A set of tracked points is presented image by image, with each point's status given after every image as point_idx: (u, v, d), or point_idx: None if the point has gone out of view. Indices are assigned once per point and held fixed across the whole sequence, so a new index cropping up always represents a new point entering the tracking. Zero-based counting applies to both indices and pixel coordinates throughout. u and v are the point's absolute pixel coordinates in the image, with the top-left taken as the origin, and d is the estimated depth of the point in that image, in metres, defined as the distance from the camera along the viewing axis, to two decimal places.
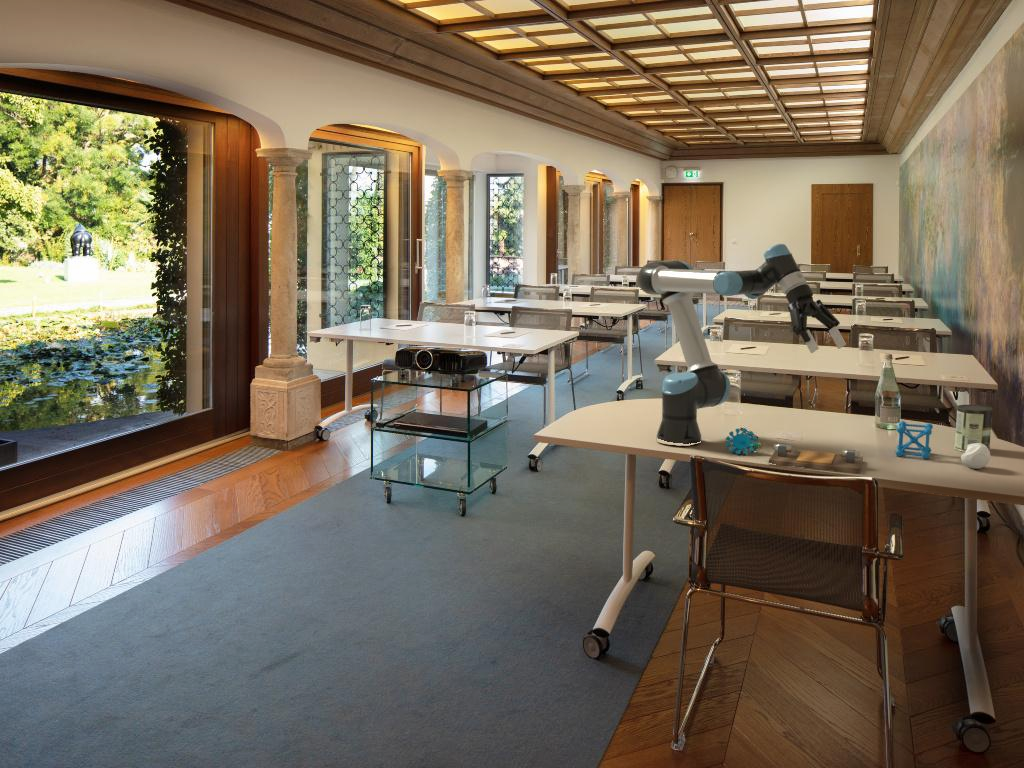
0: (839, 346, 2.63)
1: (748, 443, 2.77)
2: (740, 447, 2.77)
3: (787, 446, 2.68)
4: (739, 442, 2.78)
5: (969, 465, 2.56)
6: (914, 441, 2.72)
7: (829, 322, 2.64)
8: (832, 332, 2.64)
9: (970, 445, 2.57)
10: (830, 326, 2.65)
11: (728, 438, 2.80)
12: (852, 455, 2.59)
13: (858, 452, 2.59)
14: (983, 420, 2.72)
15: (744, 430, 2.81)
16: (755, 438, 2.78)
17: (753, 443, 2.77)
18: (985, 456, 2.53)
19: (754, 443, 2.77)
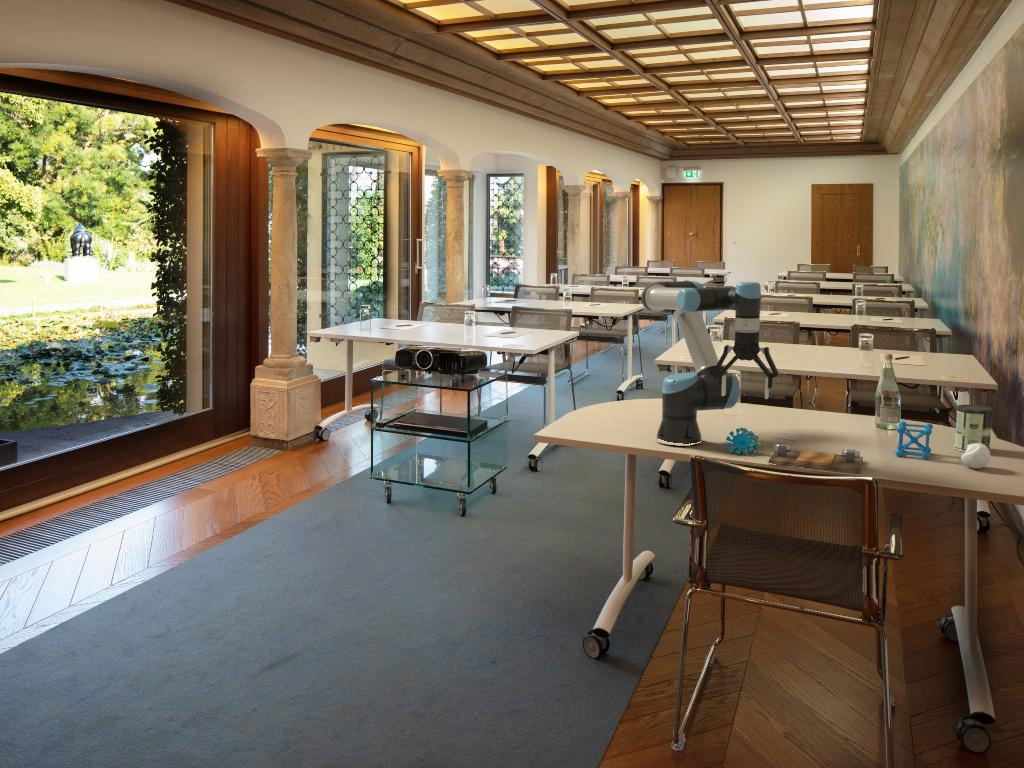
0: None
1: (748, 443, 2.77)
2: (740, 447, 2.77)
3: (787, 446, 2.68)
4: (739, 442, 2.78)
5: (969, 465, 2.56)
6: (914, 441, 2.72)
7: None
8: None
9: (970, 445, 2.57)
10: None
11: (728, 438, 2.80)
12: (852, 455, 2.59)
13: (858, 452, 2.59)
14: (983, 420, 2.72)
15: (744, 430, 2.81)
16: (755, 438, 2.78)
17: (753, 443, 2.77)
18: (985, 456, 2.53)
19: (754, 443, 2.77)
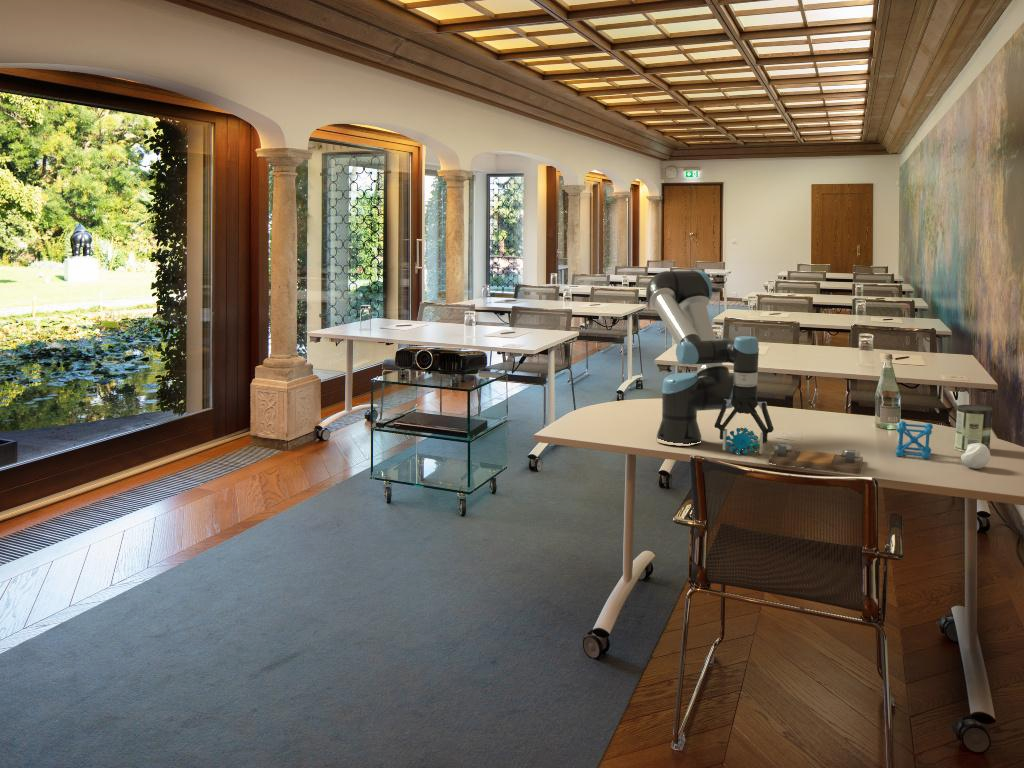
0: None
1: (748, 443, 2.78)
2: (740, 446, 2.78)
3: (787, 446, 2.68)
4: (739, 441, 2.79)
5: (969, 465, 2.56)
6: (914, 441, 2.72)
7: None
8: None
9: (970, 445, 2.57)
10: None
11: (728, 437, 2.81)
12: (852, 455, 2.59)
13: (858, 452, 2.59)
14: (983, 420, 2.72)
15: (745, 430, 2.81)
16: (755, 438, 2.78)
17: (753, 443, 2.77)
18: (985, 456, 2.53)
19: (754, 443, 2.77)
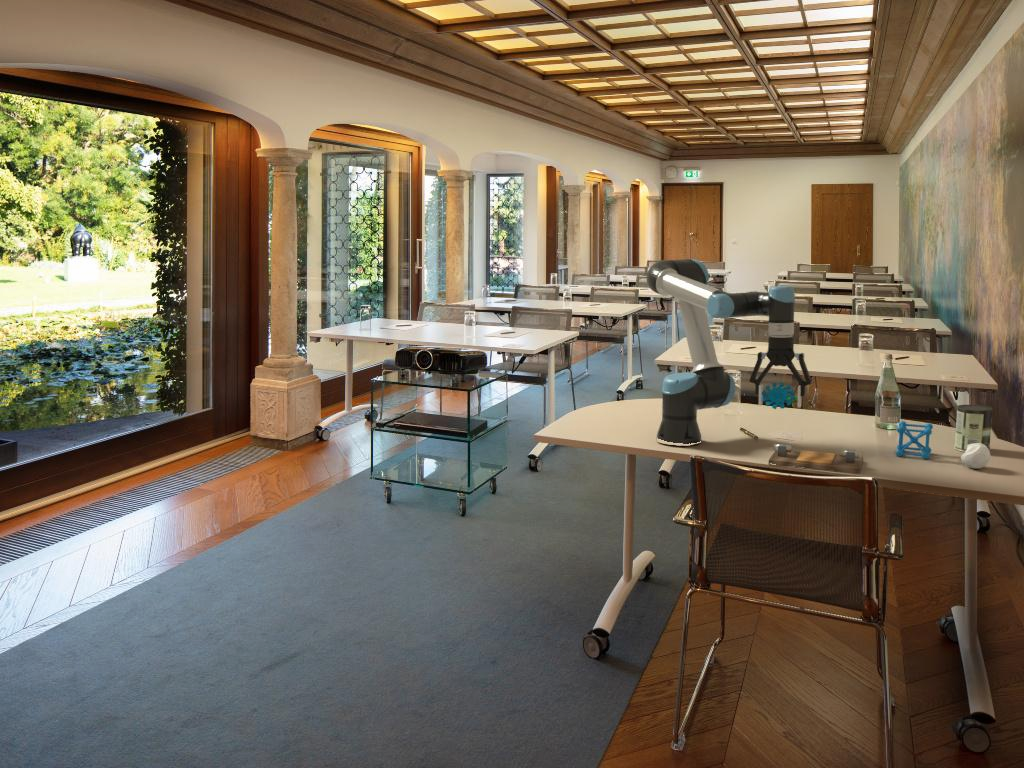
0: None
1: (785, 396, 2.68)
2: (777, 401, 2.68)
3: (787, 446, 2.68)
4: (776, 396, 2.69)
5: (969, 465, 2.56)
6: (914, 441, 2.72)
7: None
8: None
9: (970, 445, 2.57)
10: None
11: (764, 392, 2.71)
12: (852, 455, 2.59)
13: (858, 452, 2.59)
14: (983, 420, 2.72)
15: (781, 384, 2.71)
16: (792, 391, 2.68)
17: (790, 396, 2.67)
18: (985, 456, 2.53)
19: (791, 396, 2.67)
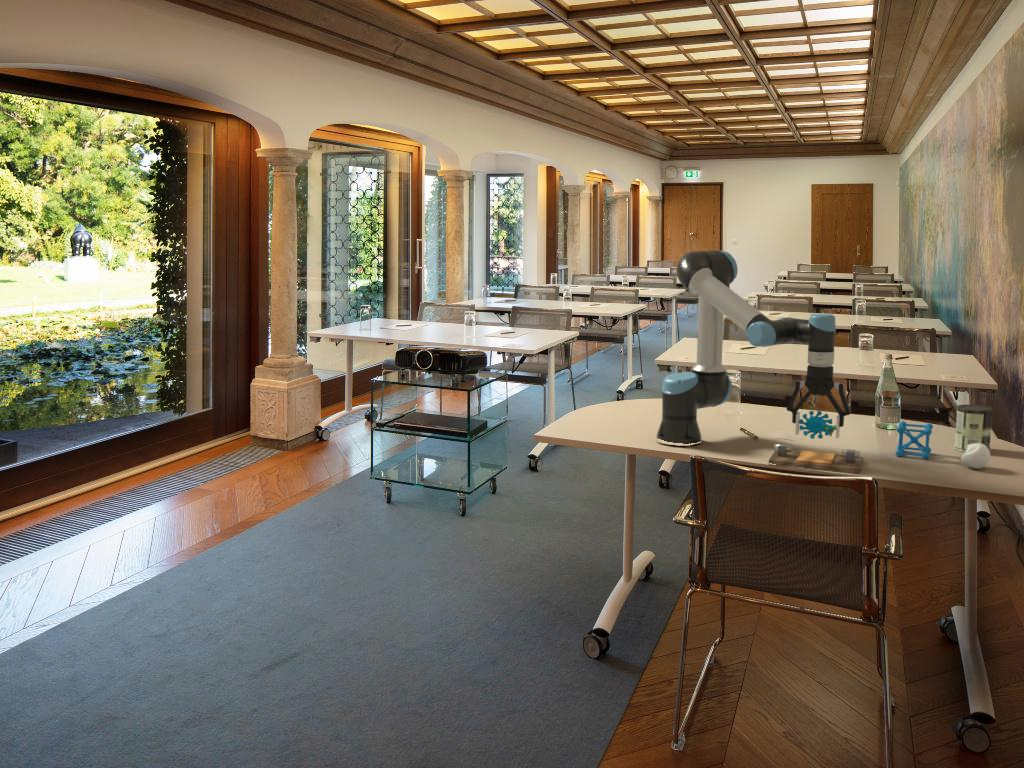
0: None
1: (823, 426, 2.63)
2: (814, 430, 2.63)
3: (787, 446, 2.68)
4: (813, 425, 2.64)
5: (969, 465, 2.56)
6: (914, 441, 2.72)
7: (836, 409, 2.60)
8: None
9: (970, 445, 2.57)
10: None
11: (801, 421, 2.66)
12: (852, 455, 2.59)
13: (858, 452, 2.59)
14: (983, 420, 2.72)
15: (818, 413, 2.66)
16: (830, 421, 2.63)
17: (828, 426, 2.62)
18: (985, 456, 2.53)
19: (829, 426, 2.62)
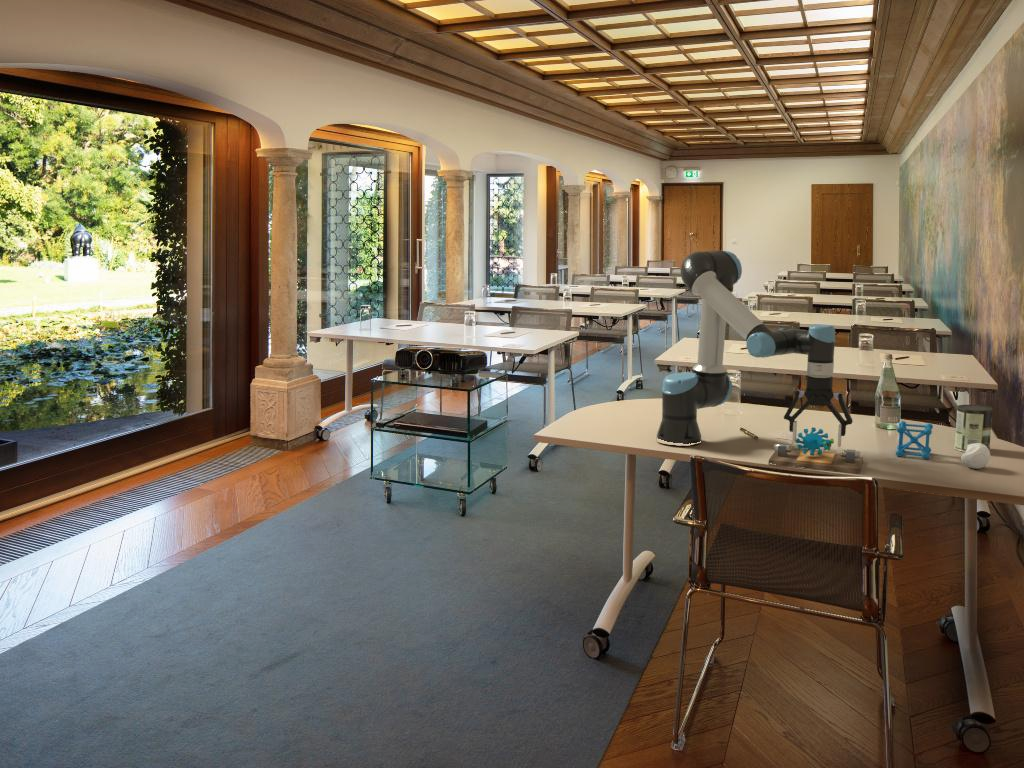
0: None
1: (820, 441, 2.65)
2: (813, 447, 2.64)
3: (787, 446, 2.68)
4: (811, 442, 2.65)
5: (969, 465, 2.56)
6: (914, 441, 2.72)
7: None
8: None
9: (970, 445, 2.57)
10: None
11: (798, 440, 2.67)
12: (852, 455, 2.59)
13: (858, 452, 2.59)
14: (983, 420, 2.72)
15: (813, 429, 2.68)
16: (826, 435, 2.65)
17: (825, 440, 2.64)
18: (985, 456, 2.53)
19: (826, 440, 2.64)
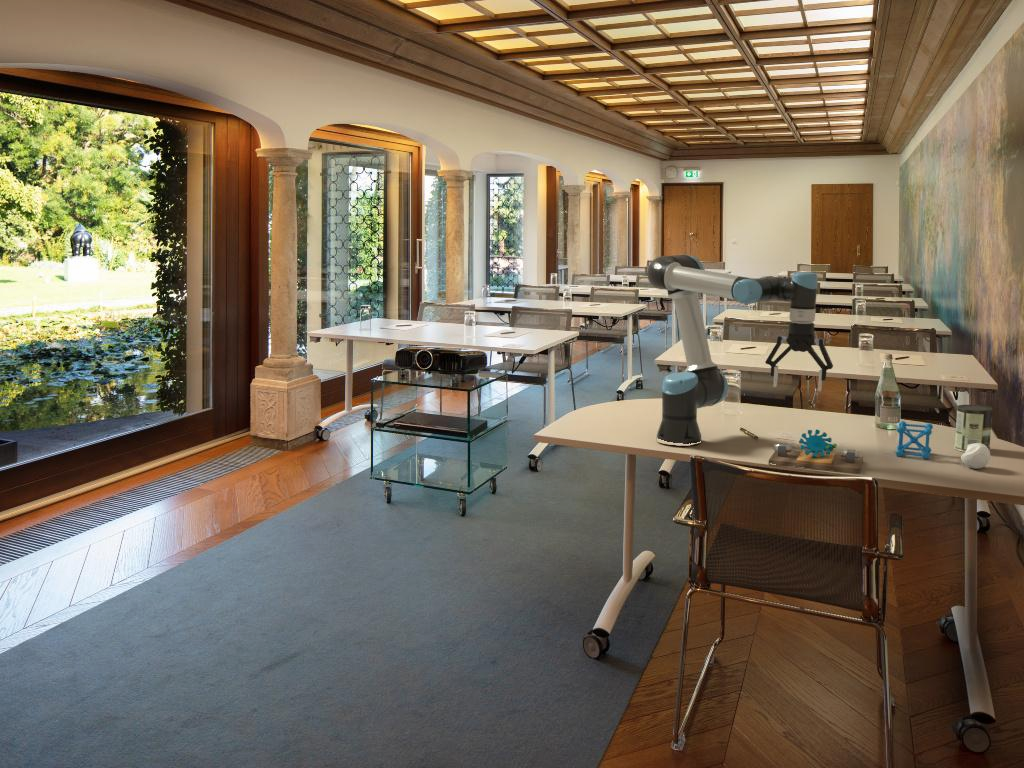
0: None
1: (823, 445, 2.65)
2: (816, 449, 2.65)
3: (787, 446, 2.68)
4: (814, 444, 2.66)
5: (969, 465, 2.56)
6: (914, 441, 2.72)
7: (818, 364, 2.68)
8: None
9: (970, 445, 2.57)
10: None
11: (802, 440, 2.67)
12: (852, 455, 2.59)
13: (858, 452, 2.59)
14: (983, 420, 2.72)
15: (817, 431, 2.68)
16: (830, 439, 2.66)
17: (829, 445, 2.65)
18: (985, 456, 2.53)
19: (830, 445, 2.65)
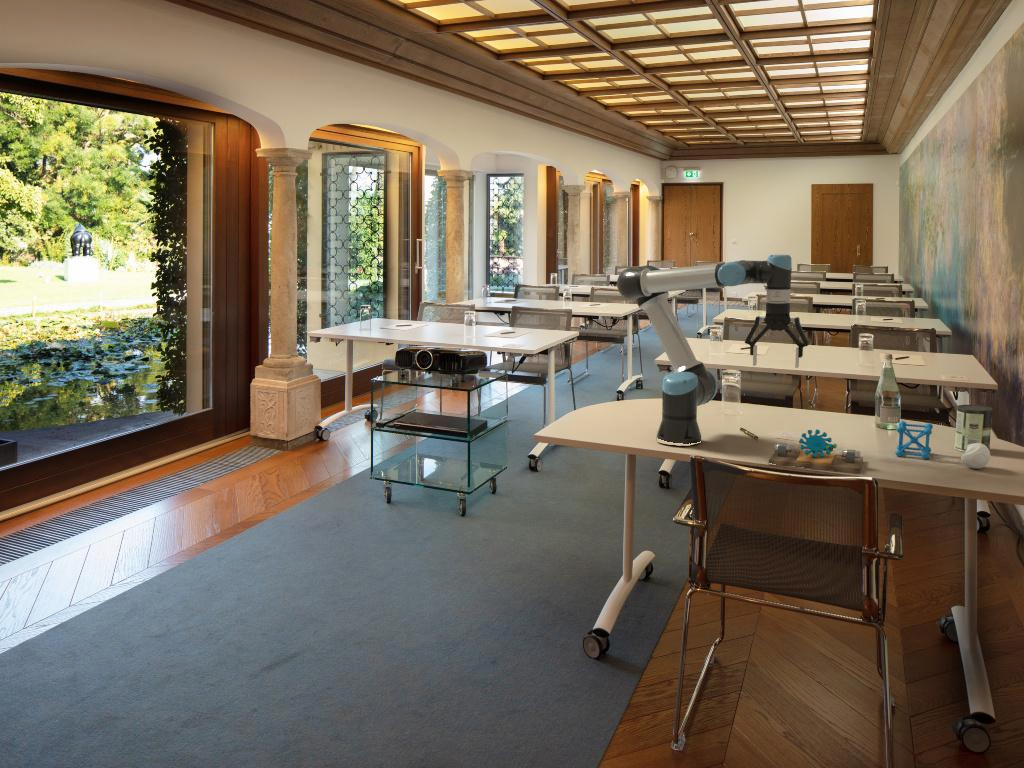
0: None
1: (823, 445, 2.65)
2: (816, 449, 2.65)
3: (787, 446, 2.68)
4: (814, 444, 2.66)
5: (969, 465, 2.56)
6: (914, 441, 2.72)
7: (795, 342, 2.80)
8: None
9: (970, 445, 2.57)
10: None
11: (802, 440, 2.67)
12: (852, 455, 2.59)
13: (858, 452, 2.59)
14: (983, 420, 2.72)
15: (817, 431, 2.68)
16: (830, 439, 2.66)
17: (829, 445, 2.65)
18: (985, 456, 2.53)
19: (830, 445, 2.65)
